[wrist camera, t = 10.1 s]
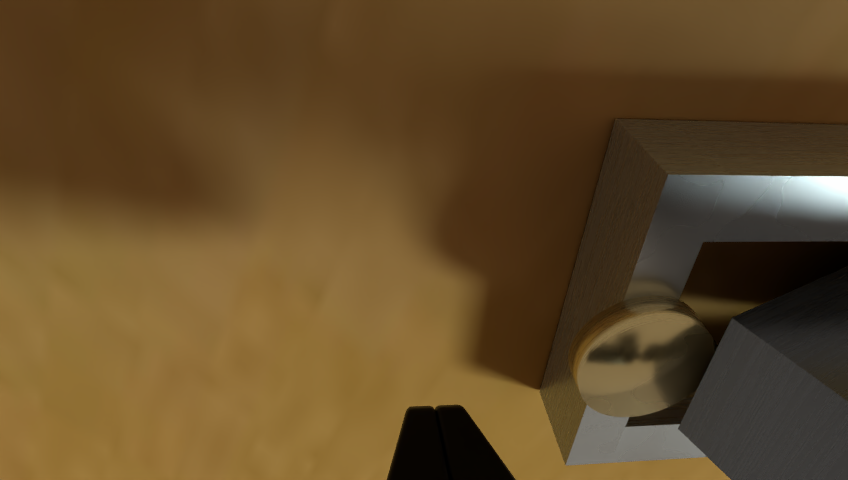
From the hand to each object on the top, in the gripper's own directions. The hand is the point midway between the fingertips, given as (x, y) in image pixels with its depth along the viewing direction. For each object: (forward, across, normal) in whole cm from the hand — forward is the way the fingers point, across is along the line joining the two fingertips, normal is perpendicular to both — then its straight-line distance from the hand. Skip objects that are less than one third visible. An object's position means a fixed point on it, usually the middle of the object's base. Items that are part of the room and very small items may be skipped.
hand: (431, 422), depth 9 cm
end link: (+3, -8, 0) cm, 9 cm away
